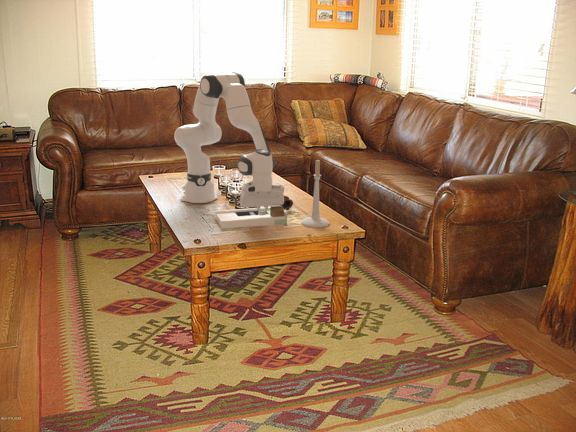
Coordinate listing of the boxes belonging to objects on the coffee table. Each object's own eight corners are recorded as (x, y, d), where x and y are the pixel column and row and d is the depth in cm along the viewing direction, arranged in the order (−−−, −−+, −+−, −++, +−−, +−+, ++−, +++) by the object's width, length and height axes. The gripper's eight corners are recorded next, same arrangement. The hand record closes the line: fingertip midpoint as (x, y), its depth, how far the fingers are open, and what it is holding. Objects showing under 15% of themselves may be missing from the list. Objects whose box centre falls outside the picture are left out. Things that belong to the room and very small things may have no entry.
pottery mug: (267, 211, 302) (269, 195, 304) (278, 216, 309) (280, 200, 311) (287, 209, 295) (288, 193, 297) (298, 214, 302) (300, 198, 304)
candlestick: (308, 229, 276) (311, 163, 267) (296, 220, 287) (298, 157, 278) (334, 226, 281) (337, 161, 272) (321, 218, 292) (324, 155, 283)
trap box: (215, 218, 288) (215, 206, 286) (277, 213, 297) (277, 202, 295) (222, 228, 273) (222, 216, 272) (286, 224, 282) (287, 212, 281)
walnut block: (270, 215, 286) (270, 205, 285) (280, 214, 287) (280, 205, 286) (273, 218, 281) (273, 208, 280) (283, 217, 283) (283, 208, 282)
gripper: (282, 182, 285) (281, 211, 289) (239, 185, 278) (238, 214, 282) (286, 186, 279) (285, 215, 283) (242, 188, 273) (242, 218, 277)
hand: (261, 215), depth 283 cm, fingers closed
